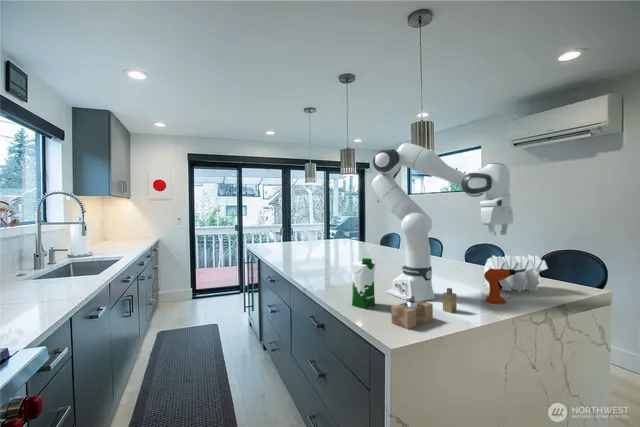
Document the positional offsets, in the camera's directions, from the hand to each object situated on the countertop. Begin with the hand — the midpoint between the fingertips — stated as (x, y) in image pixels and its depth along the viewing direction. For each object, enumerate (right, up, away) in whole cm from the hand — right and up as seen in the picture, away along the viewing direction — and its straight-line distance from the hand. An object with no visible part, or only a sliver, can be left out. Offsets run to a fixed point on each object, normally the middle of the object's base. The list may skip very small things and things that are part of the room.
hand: (498, 235), depth 124 cm
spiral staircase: (+20, -29, +22) cm, 41 cm away
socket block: (-41, -30, -17) cm, 54 cm away
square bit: (-23, -30, -6) cm, 38 cm away
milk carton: (-56, -30, +2) cm, 64 cm away
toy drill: (+6, -29, +5) cm, 30 cm away
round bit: (-41, -30, -17) cm, 54 cm away
